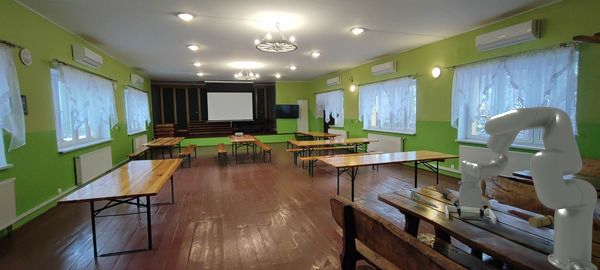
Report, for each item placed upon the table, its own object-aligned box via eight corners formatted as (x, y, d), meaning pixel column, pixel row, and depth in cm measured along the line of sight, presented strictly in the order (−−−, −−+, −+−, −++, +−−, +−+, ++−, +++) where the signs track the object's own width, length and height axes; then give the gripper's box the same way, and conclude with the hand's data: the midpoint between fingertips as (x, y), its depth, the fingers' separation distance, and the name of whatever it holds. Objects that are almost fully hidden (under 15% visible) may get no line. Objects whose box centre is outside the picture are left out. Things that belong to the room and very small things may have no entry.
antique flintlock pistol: (439, 194, 184) (439, 179, 183) (481, 208, 156) (481, 191, 155) (433, 195, 182) (433, 181, 181) (474, 209, 154) (474, 192, 153)
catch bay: (496, 223, 135) (496, 217, 134) (447, 218, 143) (446, 213, 143) (490, 214, 146) (490, 208, 146) (445, 210, 155) (444, 205, 155)
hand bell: (476, 209, 155) (476, 181, 154) (474, 204, 162) (474, 178, 161) (494, 210, 151) (494, 182, 150) (490, 205, 159) (490, 178, 158)
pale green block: (484, 220, 140) (484, 213, 139) (458, 218, 144) (458, 210, 144) (482, 216, 144) (482, 209, 144) (456, 214, 149) (456, 207, 149)
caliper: (410, 199, 178) (410, 189, 178) (411, 198, 179) (411, 189, 178) (437, 208, 160) (436, 198, 159) (438, 208, 160) (438, 197, 159)
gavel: (499, 207, 148) (515, 205, 149) (499, 215, 148) (515, 213, 149) (537, 219, 127) (555, 217, 129) (538, 229, 127) (556, 226, 129)
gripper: (451, 185, 139) (452, 217, 141) (492, 187, 132) (492, 221, 134) (450, 181, 146) (450, 212, 148) (488, 183, 139) (488, 215, 141)
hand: (470, 216), depth 141 cm, fingers open, 9 cm apart
